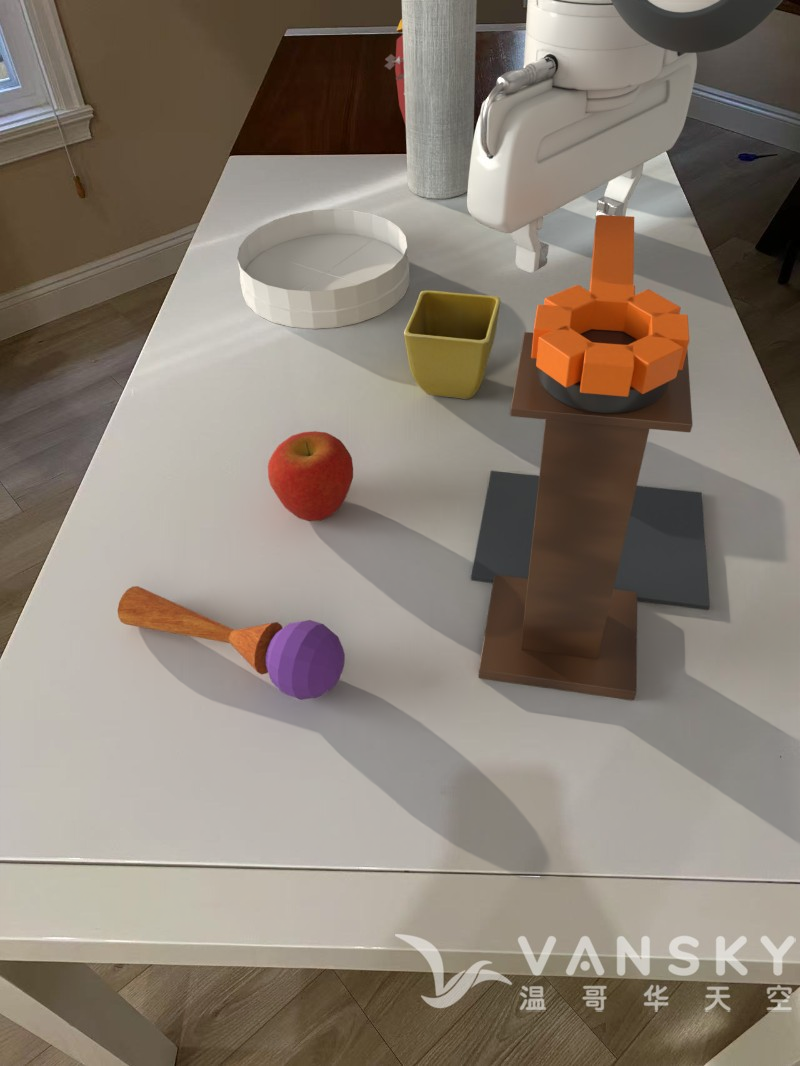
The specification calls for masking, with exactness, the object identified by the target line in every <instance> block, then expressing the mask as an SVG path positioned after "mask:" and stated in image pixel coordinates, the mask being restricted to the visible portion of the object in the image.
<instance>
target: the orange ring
mask: <svg viewBox="0 0 800 1066" xmlns="http://www.w3.org/2000/svg"><path fill="white" fill-rule="evenodd" d="M595 217H596V216H595ZM594 225H595V226H594V234H593V246H592V258H591V270H590V280H589V281H590V282H589V290H588V289H586V288H584V287H582V285H581V286H580V285H579V284H575V285H573V286H570V287H568V288H567V289H563V290H561V291H559V292H556V293H554V294H552V295H549V296H546V297H545V298H544V301H543V302H544V303H543V304H537V307H536V311H535V318H534V326H533V332H532V333H533V343H532V355H531V358H534V359H537V362H536V366H537V367H538V368H539V369H540V370H542V371H543V372H545V373H546V374H547V375H549V376H550V377H552V378H553V379H554V380H556V381H557V382H559V383H560V384H561V385H563V386H564V387H569V386H571V385H573V384H575V383H577V382H580V381H581V384H580V393H590V394H601V395H613V396H625V397H628V396H629V391H630V386H631V387H633V388H634V389H636V390H637V391H639V392H640V393H642V394H644V393H646V392H648V391H650V390H652V389H654V388H656V387H658V386H660V385H662V384H664V383H666V382H668V381H670V380H672V379H674V378H676V376H677V372H678V370H682V369H683V365H684V360H685V356H686V352H687V348H689V343H690V331H689V330H690V329H689V315H688V314H686V313H685V314H683V313H681V309H682V307H681V306H679V305H678V304H676V303H674V302H672V301H670V300H669V299H667V298H665V297H664V296H662V295H661V294H659V293H656V292H654V291H652V290H651V289H645V290H643V291H641V292H638V293H636V285H635V284H634V274H635V273H634V272H635V271H634V269H635V216H630V215H629V216H628V215H626V216H611V215H597V217H596V218H595V224H594ZM591 329H595V330H609V331H623V332H625V333H627V334H628V335H630V336H631V337H633V338H635V339H636V340H638V341H635V342H633V343H631V344H629V345H620V344H607V343H593V342H591V341H589V340H588V339H586V338H585V337H583V336H582V335H580V334H582V333H584V332H586V331H588V330H591Z"/></svg>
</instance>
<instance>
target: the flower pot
mask: <svg viewBox="0 0 800 1066" xmlns="http://www.w3.org/2000/svg"><path fill="white" fill-rule="evenodd" d="M500 306H501V297H500V296H496V295H485V294H474V293H461V292H450V291H439V290H422V291H420V293H419V295H418V298H417V300H416V303H415V305H414V308H413V311H412V314H411V316H410V317H409V320H408V323H407V325H406V327H405V328H404V332H403V337H404V342H405V347H406V354H407V359H408V365H409V369H410V372H411V375H412V377H413V380H414V381H415V382H416V384H417V385H418V387H419V388H420V389H421V390H422V391H423V392H424V393H425V394H427V395H429V396H436V397H447V398H455V399H461V400H462V399H464V400H470V399H472V398H473V397H474V396H475V394H476V393H478V391H479V390H480V387H481V386H482V383H483V379H484V377H485V373H486V370H487V369H486V368H487V366H488V361H489V357H490V354H491V351H492V347H493V345H494V341H495V336H496V331H497V325H498V319H499V313H500Z"/></svg>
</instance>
